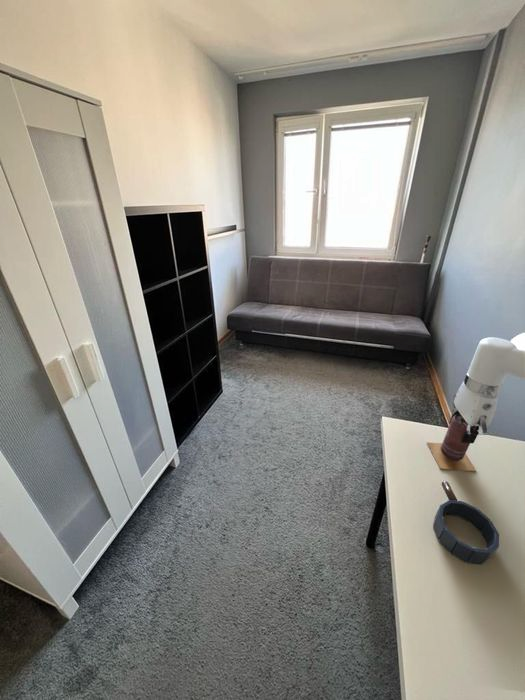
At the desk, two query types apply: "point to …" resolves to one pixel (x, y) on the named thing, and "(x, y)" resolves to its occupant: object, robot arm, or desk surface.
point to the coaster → (450, 464)
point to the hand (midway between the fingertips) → (460, 432)
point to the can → (455, 439)
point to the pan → (475, 519)
